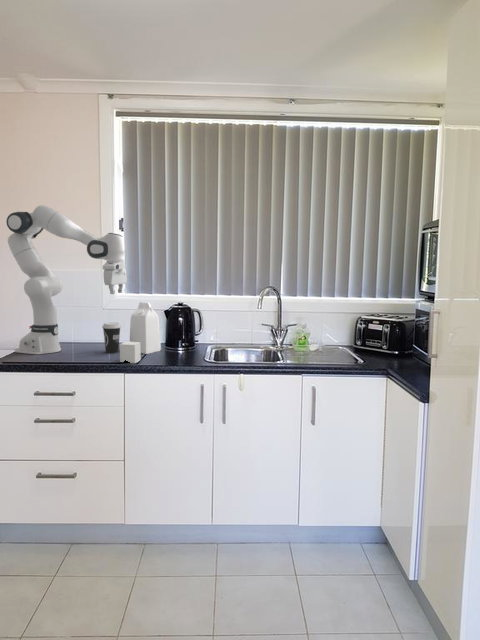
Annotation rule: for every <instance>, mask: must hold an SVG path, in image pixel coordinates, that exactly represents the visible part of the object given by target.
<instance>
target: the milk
mask: <svg viewBox="0 0 480 640" xmlns="http://www.w3.org/2000/svg"><path fill="white" fill-rule="evenodd" d="M129 325H130V326H129V342H140V352H141V354H145V355H148V354H152V353H156V352H160V350H161V351H162V345H161V344H162V343H161V342H162V341H161V327H160V317H159V314H158V313H157V312H156V311H155V310H154V309H153V308H152V305H151V303H150V302H147V301H145V302H144V301H139V303H138V306H137V308H136V309H135V310H134V312H133V313H132V314H131V315H130V324H129Z"/></svg>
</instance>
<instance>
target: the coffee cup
mask: <svg viewBox="0 0 480 640" xmlns="http://www.w3.org/2000/svg"><path fill="white" fill-rule="evenodd" d="M101 327H102V330H103V331H102V332H103V337H104V338H103V339H104V349H105V353H106V354H107V353H110V354H114V353H118V352H120V337H121V335H120V334H121V328H122V326H121V324H120V322H115V321H114V322H113V321H111V322H103V325H102V326H101Z"/></svg>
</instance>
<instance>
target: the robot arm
mask: <svg viewBox="0 0 480 640" xmlns="http://www.w3.org/2000/svg"><path fill="white" fill-rule="evenodd" d="M6 226H7V228H8V229H9V230H10V231H11V232H12V234H10V235H9V236H8V238H7V243H8V247H9V250H10V251H11V254H12V256H13V258H14V259H15V261H16V263H17V265H18V266H19V268H20V270H21V272H23V273H24V274H25V275H27V276H28V279H27V280H26V281H25V283H24V285H23V289H24V293H25V294H26V295H27V296H28V299H29V301H30V303H31V307H32V312H33V313H32V314H33V324H31V325H30V326H28V327H29V328H28V329H30V332H28V333H27V334H26V335H25V336H23V337H21V339H20V340H19V345H18V348H15V349H14V353H19V354H20V353H21V354H30V355H42V354H52V353H58V352H61V351H62V348H61V345H60V341H59V335H58V334H59V324H58V319H57V318H58V317H57V308H56V306H55V305H54V303H53V299H52V297H55V296H57V295H58V294H60V293H61V292H62V290H63V283H62V282H63V281H61V279H60V278H58V277H57V276H56V275H55V274H54V273H53V272H52V271H51V269H49V267H48V266H47V265H46V264H45V262H44V261H43V259H42V258H41V255H40V254H39V252H38V251H37V249H36V247H35V245H34V244H33V240H32V239H36V238H37V237H38V235H39V234H41V233H42V232H43V230H45V231H46V232H48V233H49V234H52V235H54V236H56V237H59V238H62V239H67V240H73V241H77V242H79V243H81V244H83V245H85V246H86V252H87V254H88V256H89V257H90V258H92V259H94V260H95V259H96V260H104V261H105V260H106V262H105V263H104V264H103V265H102V270H103V284H104V286H108V289H109V294H110V295H115V294H116V293H115V292H116V291H115V290H114V288H115V285H118V289H117V293H119V294H122V293H123V288H124V284H125V285H126V284H127V281H128V277H127V276H128V275H127V270H126V261H125V259H126V258H125V253H126V252H125V251H126V250H125V240H124V237H123V236H122V234H118V233H113V232H107V233H106V235H104V236H102V237H99V238H98V236H97V237H96V236H95V235H94V234H91V233H90V232H88V231H86V230H84V229H83V228H82V227H80V226H79V225H78V224H76V223H75V222H74V221H72V220H71V219H70V218H68V217H67V216H65V215H64V214H63V213H61V212H60V211H58V210H56V209H53V208H51V207H49V206H47V205H43V204H42V205H41V204H40V205H38V206H36V207H35V209H34V210H33V211H32V212H31V213H30V212H28V211H15V212H12V213H10V214H8V215H7V217H6Z"/></svg>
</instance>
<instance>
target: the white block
mask: <svg viewBox="0 0 480 640" xmlns="http://www.w3.org/2000/svg"><path fill="white" fill-rule="evenodd" d="M141 354H142V353H141V352H140V342H130V341H124V342H122V343H119V362H124V361H125V360H126V361H128V362H130V363H129V364H137V363H138V362H139V361H141V356H142V355H141Z"/></svg>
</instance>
